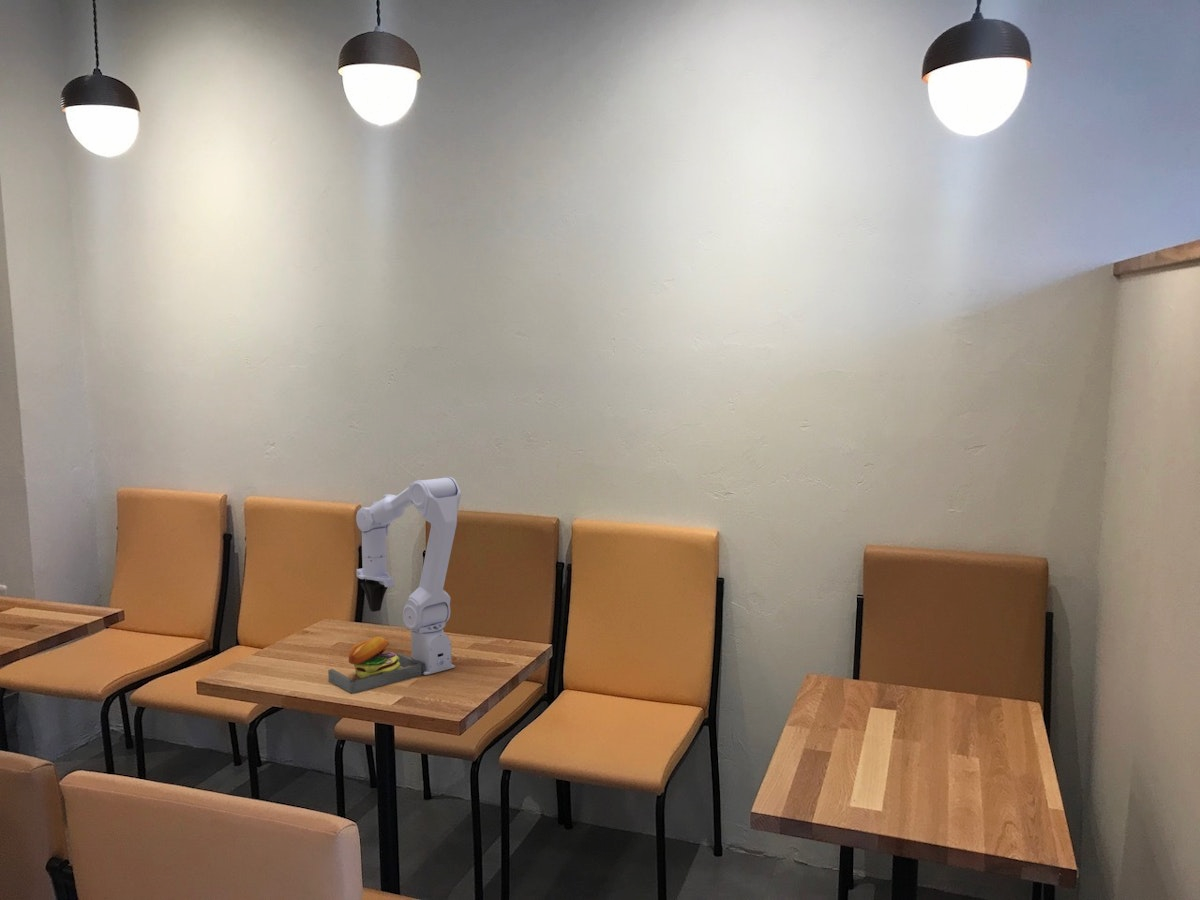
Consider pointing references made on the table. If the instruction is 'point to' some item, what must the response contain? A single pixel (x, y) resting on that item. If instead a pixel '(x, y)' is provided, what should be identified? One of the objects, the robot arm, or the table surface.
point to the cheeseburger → (372, 657)
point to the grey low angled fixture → (379, 676)
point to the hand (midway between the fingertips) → (375, 610)
